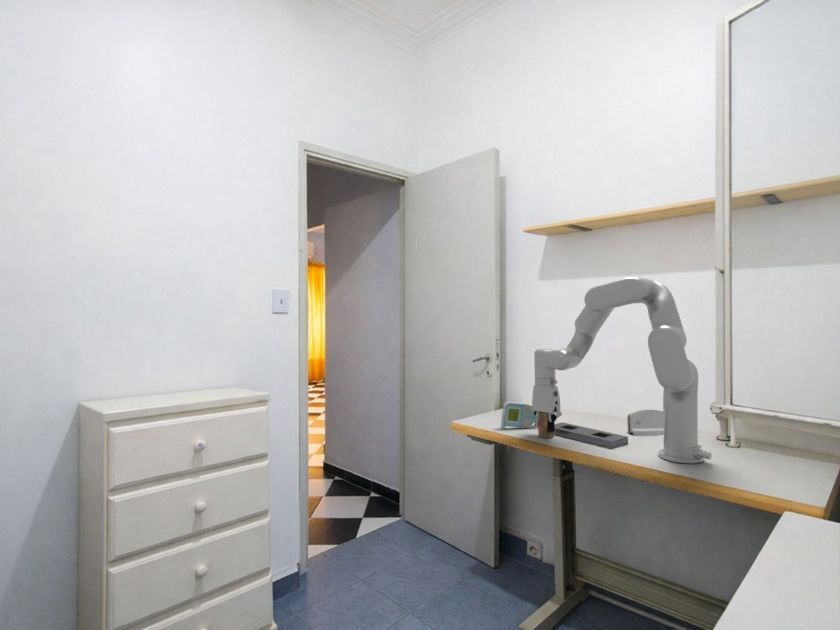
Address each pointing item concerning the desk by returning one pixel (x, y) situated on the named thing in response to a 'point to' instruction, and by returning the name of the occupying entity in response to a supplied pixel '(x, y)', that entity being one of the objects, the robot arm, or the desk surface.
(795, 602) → the desk surface
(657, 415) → the grey curved-top block
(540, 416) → the walnut block
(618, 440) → the grey slotted board
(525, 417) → the handheld gaming console
